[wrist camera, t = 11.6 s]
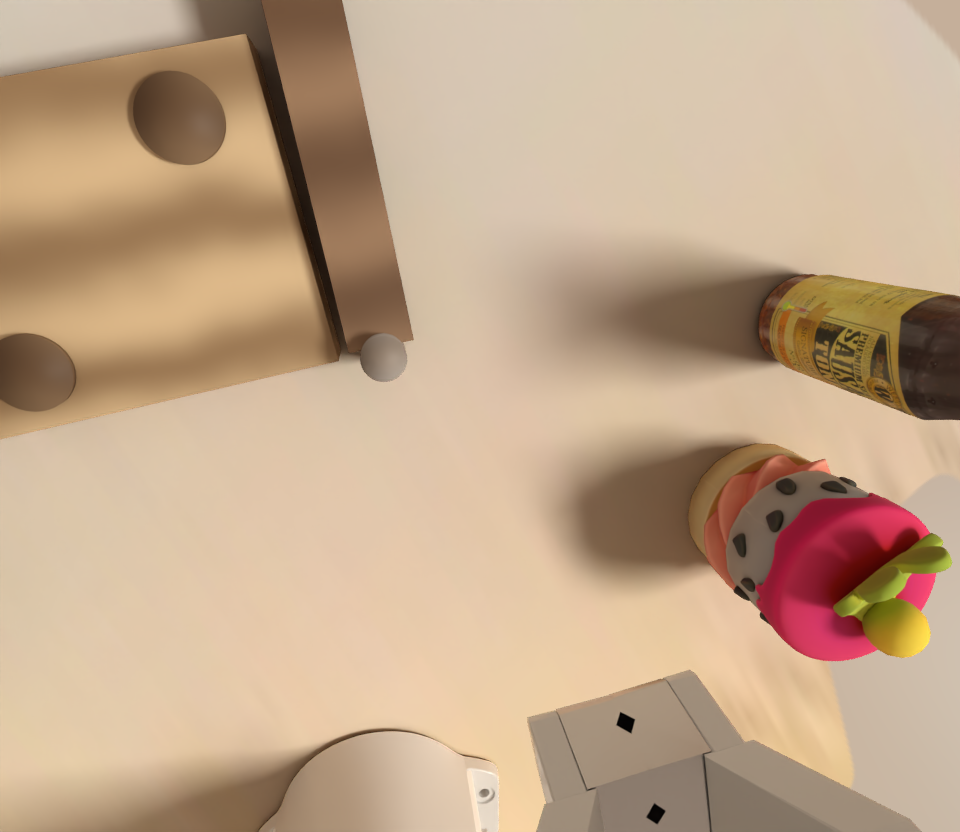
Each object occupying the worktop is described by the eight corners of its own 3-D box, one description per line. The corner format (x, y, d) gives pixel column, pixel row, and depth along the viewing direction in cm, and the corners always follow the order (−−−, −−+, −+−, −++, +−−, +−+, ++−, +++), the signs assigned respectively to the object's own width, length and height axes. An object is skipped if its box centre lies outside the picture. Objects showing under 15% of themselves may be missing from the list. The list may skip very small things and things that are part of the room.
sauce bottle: (736, 311, 40) (1050, 390, 22) (814, 252, 40) (1202, 280, 21) (778, 386, 43) (1096, 517, 24) (852, 331, 42) (1234, 419, 24)
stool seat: (340, 350, 37) (338, 362, 34) (28, 421, 35) (-6, 442, 32) (257, 50, 32) (244, 31, 28) (-116, 117, 30) (-174, 105, 27)
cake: (838, 506, 47) (1042, 631, 33) (729, 594, 47) (881, 753, 33) (773, 409, 43) (969, 501, 29) (656, 505, 44) (791, 641, 30)
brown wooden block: (414, 354, 37) (421, 374, 33) (357, 366, 37) (355, 388, 32) (332, -35, 31) (325, -81, 26) (261, -25, 30) (241, -70, 26)
